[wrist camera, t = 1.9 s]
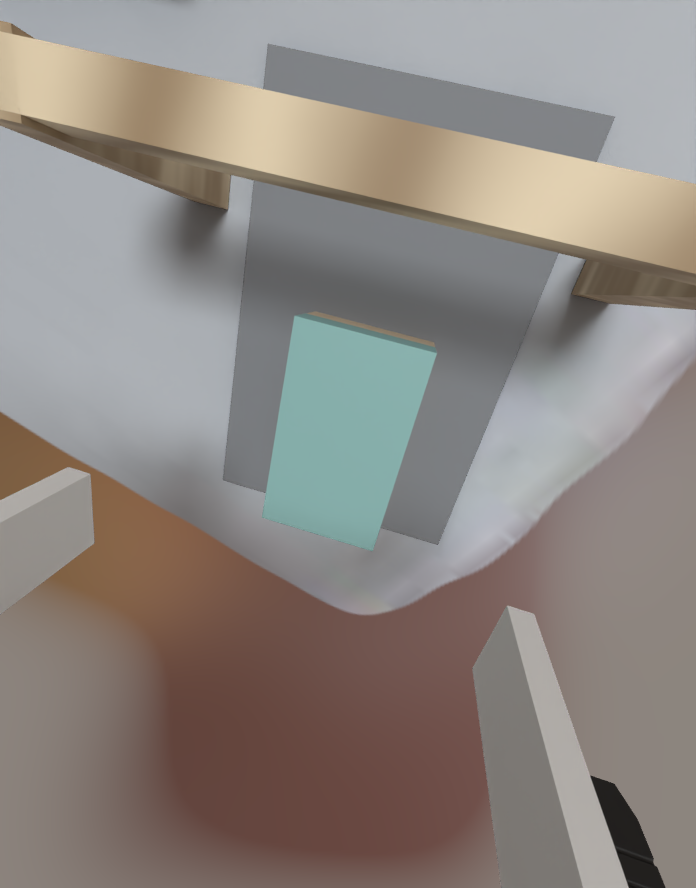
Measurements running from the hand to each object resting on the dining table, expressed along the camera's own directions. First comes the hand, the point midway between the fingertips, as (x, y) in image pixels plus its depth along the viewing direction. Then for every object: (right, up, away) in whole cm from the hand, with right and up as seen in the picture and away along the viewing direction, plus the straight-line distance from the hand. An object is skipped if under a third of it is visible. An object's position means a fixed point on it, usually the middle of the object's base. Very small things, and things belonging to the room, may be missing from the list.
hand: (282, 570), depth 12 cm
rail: (+5, +15, +8) cm, 18 cm away
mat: (+3, +10, +11) cm, 15 cm away
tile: (+2, +5, +12) cm, 14 cm away
